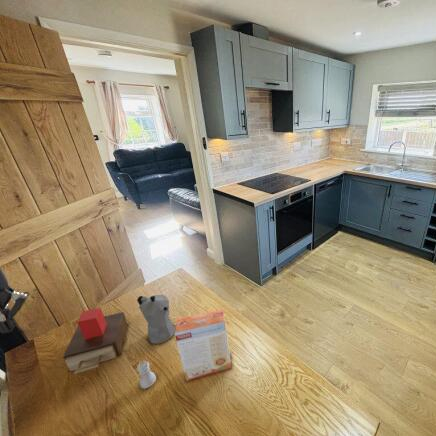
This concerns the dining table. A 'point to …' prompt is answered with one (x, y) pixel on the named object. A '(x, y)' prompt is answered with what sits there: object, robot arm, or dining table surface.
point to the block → (92, 323)
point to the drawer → (90, 359)
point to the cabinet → (100, 337)
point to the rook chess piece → (146, 375)
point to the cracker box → (203, 344)
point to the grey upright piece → (157, 317)
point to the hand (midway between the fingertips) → (8, 330)
